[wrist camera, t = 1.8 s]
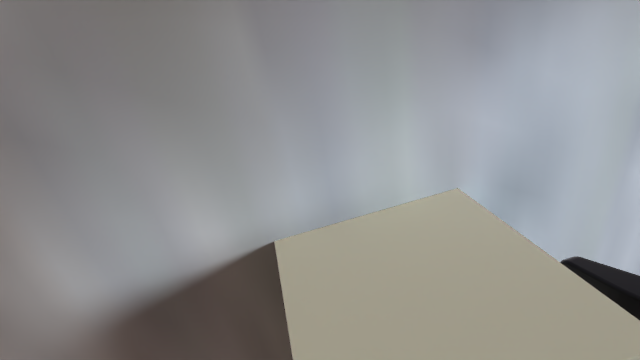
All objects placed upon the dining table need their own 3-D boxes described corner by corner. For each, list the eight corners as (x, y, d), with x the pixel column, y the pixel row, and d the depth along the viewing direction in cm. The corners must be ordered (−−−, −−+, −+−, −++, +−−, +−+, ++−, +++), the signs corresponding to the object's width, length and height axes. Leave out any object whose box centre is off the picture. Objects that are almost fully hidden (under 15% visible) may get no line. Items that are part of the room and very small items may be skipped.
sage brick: (455, 186, 9) (669, 343, 4) (457, 317, 11) (602, 508, 7) (273, 239, 8) (311, 476, 4) (313, 365, 11) (366, 610, 6)
